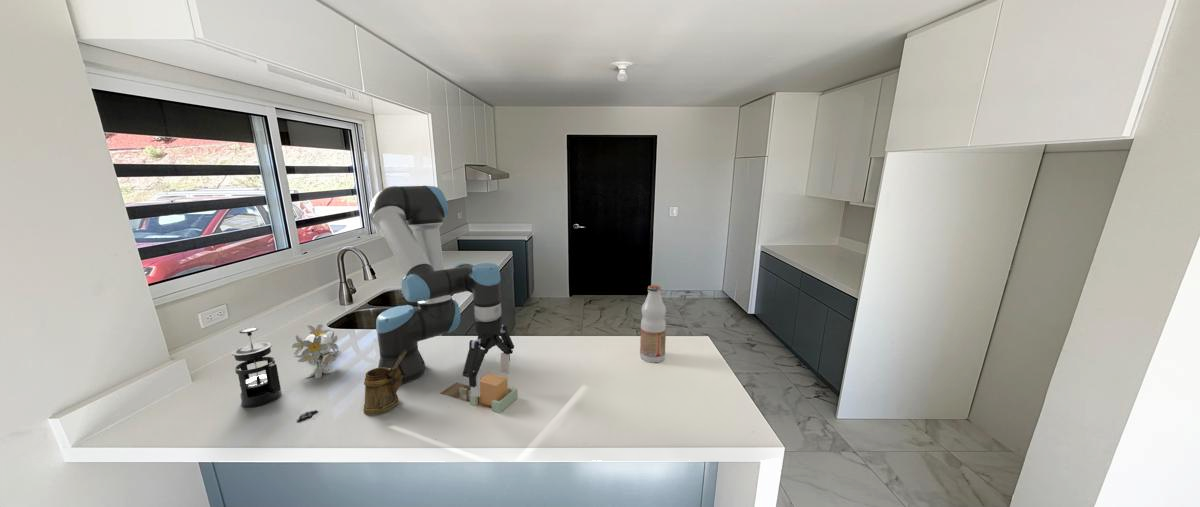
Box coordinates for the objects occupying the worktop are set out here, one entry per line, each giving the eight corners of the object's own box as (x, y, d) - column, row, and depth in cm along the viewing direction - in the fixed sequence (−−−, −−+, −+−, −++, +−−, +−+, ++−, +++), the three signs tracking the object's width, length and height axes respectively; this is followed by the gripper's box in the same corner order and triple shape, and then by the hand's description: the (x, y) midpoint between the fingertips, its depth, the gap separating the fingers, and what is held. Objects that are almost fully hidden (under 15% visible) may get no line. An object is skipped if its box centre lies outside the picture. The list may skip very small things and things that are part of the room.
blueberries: (329, 413, 111) (329, 407, 111) (303, 428, 103) (302, 422, 103) (311, 410, 112) (310, 404, 112) (283, 425, 105) (283, 418, 104)
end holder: (470, 404, 112) (469, 395, 112) (489, 389, 120) (489, 381, 119) (499, 413, 108) (499, 403, 107) (517, 397, 116) (517, 388, 115)
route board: (440, 396, 118) (438, 383, 117) (456, 385, 124) (455, 373, 124) (502, 414, 109) (501, 401, 108) (516, 402, 115) (516, 389, 114)
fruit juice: (644, 364, 138) (646, 291, 133) (636, 353, 147) (638, 284, 142) (668, 361, 140) (671, 289, 135) (659, 350, 149) (661, 282, 144)
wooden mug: (405, 414, 109) (399, 356, 106) (357, 416, 108) (349, 358, 105) (418, 396, 118) (412, 343, 114) (373, 398, 117) (366, 344, 114)
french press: (230, 406, 113) (215, 334, 108) (262, 389, 122) (249, 322, 118) (264, 409, 111) (250, 336, 107) (294, 392, 120) (282, 324, 116)
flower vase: (309, 373, 146) (302, 385, 125) (292, 328, 144) (282, 334, 123) (348, 358, 153) (347, 367, 132) (332, 315, 151) (329, 318, 130)
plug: (460, 397, 116) (459, 376, 115) (472, 388, 120) (470, 368, 119) (497, 407, 110) (496, 386, 109) (508, 398, 115) (507, 377, 114)
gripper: (467, 335, 96) (472, 409, 101) (524, 305, 119) (525, 367, 123) (445, 330, 99) (450, 402, 104) (504, 302, 122) (506, 362, 126)
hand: (491, 383), depth 113 cm, fingers open, 13 cm apart
